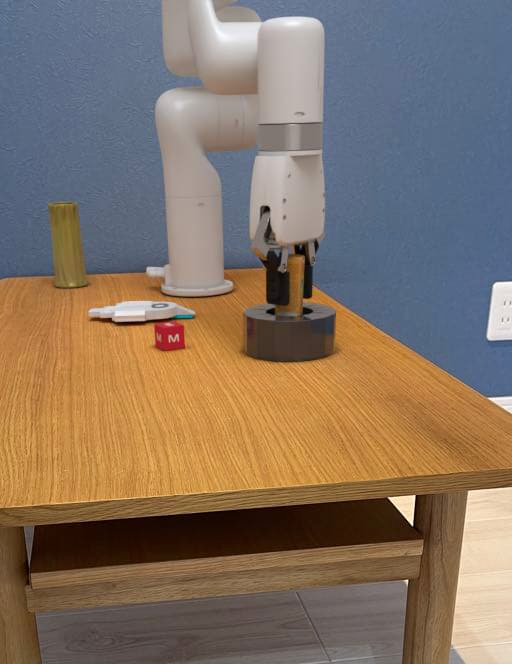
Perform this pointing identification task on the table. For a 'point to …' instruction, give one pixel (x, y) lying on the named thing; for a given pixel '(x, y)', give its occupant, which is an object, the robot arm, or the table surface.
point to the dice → (169, 335)
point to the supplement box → (294, 287)
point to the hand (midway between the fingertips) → (289, 299)
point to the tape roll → (289, 333)
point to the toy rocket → (142, 311)
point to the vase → (67, 245)
